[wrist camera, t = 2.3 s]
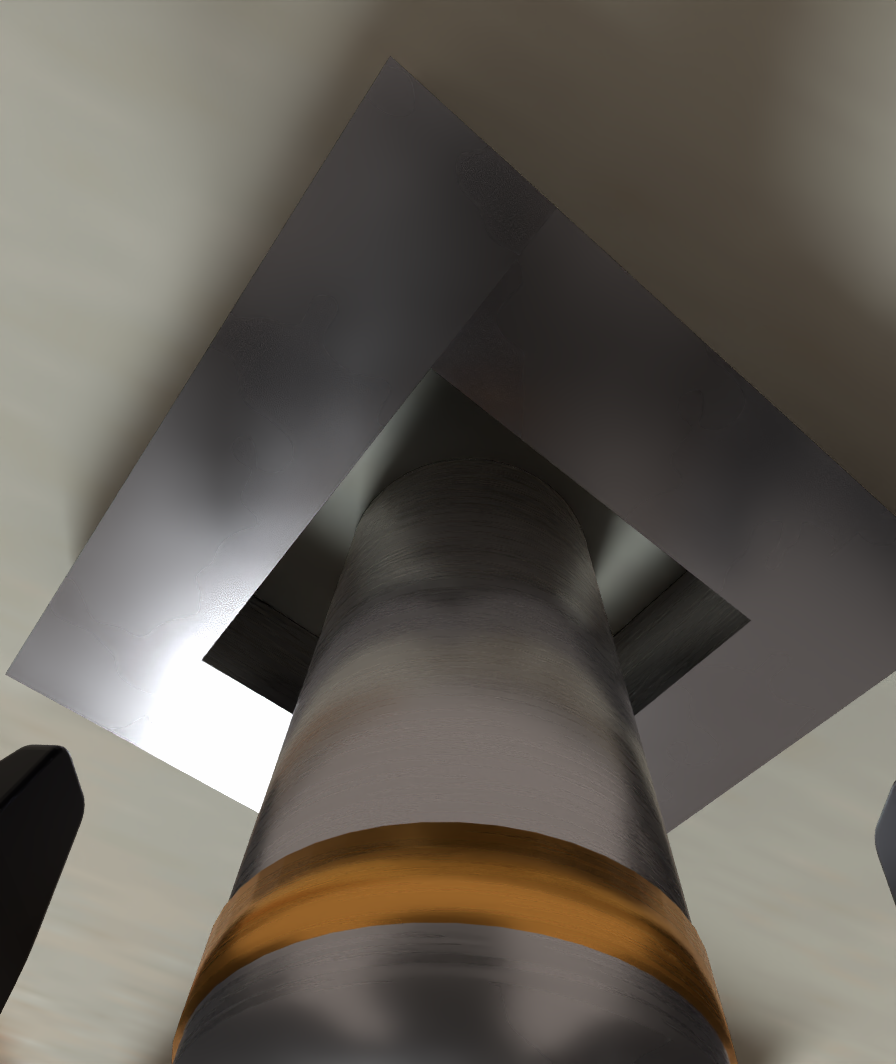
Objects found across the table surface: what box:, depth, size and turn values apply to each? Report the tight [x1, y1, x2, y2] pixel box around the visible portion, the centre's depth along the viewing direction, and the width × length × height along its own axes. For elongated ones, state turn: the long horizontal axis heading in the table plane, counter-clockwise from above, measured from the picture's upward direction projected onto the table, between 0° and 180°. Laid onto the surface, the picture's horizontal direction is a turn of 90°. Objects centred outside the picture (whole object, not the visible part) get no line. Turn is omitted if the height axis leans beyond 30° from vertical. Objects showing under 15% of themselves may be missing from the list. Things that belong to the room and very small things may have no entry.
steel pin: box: [172, 459, 738, 1064], centre depth 8 cm, size 4×4×8 cm
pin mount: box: [5, 56, 896, 833], centre depth 11 cm, size 10×10×2 cm
